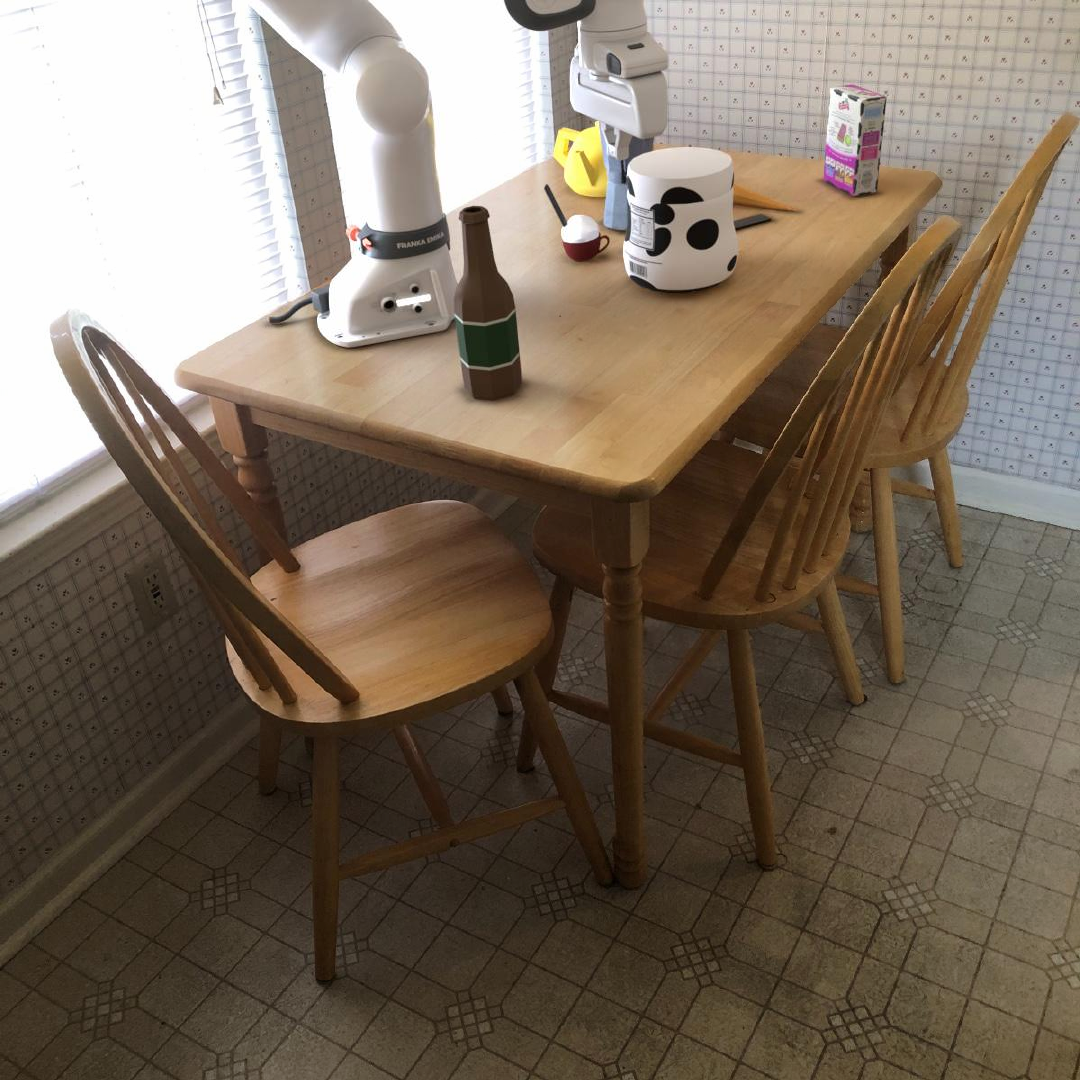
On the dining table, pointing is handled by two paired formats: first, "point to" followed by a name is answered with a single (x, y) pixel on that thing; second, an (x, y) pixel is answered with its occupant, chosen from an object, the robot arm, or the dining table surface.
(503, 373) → the beer bottle
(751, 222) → the ruler
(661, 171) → the milk container
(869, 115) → the candy bar box
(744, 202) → the carrot
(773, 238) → the dining table surface
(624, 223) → the moka pot
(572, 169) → the teapot
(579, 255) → the cocoa
